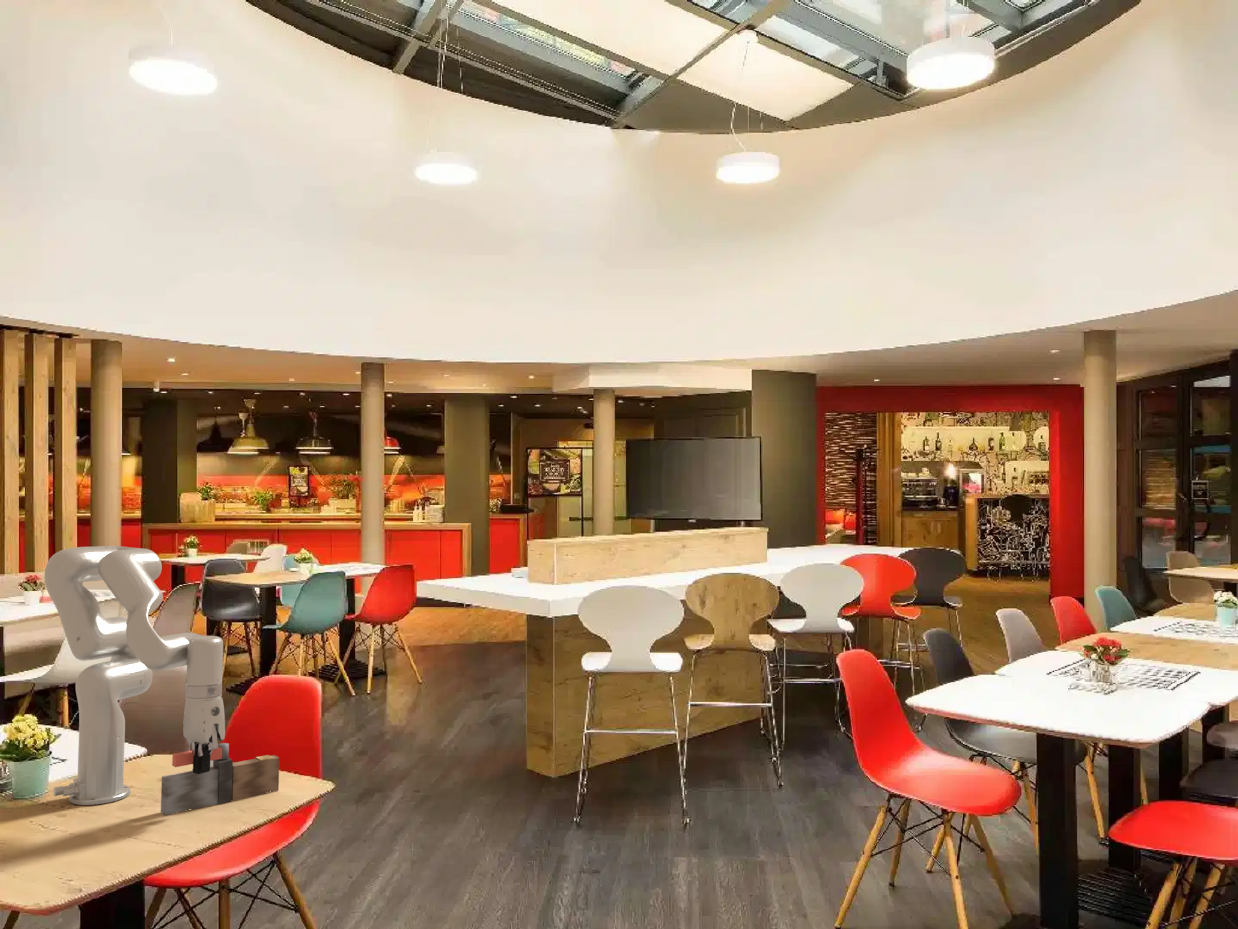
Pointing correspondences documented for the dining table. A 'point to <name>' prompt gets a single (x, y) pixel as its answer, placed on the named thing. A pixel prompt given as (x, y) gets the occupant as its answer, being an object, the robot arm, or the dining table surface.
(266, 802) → the dining table surface
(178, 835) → the dining table surface
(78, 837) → the dining table surface
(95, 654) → the robot arm
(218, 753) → the swing bar
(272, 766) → the two-tone wood plank
